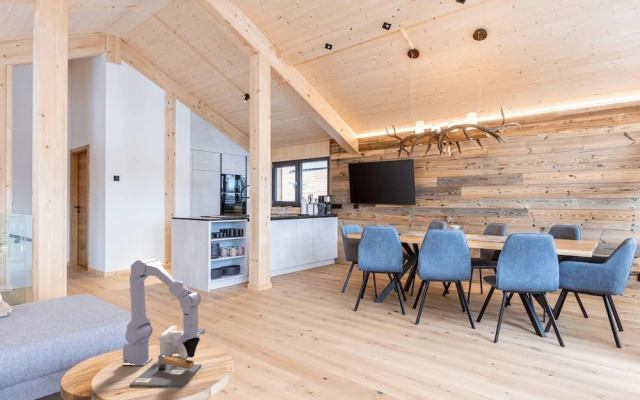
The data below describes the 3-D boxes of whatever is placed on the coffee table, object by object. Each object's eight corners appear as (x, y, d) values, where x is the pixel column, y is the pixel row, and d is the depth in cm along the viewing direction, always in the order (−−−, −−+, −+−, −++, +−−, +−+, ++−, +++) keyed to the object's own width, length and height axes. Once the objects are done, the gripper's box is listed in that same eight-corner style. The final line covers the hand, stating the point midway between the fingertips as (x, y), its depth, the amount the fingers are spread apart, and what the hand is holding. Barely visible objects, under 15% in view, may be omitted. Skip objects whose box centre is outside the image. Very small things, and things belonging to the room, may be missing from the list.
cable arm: (156, 369, 151) (156, 356, 151) (162, 366, 153) (162, 354, 153) (188, 377, 144) (188, 363, 144) (194, 373, 147) (194, 360, 147)
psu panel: (129, 386, 139) (129, 383, 139) (154, 365, 157) (154, 363, 157) (182, 387, 138) (182, 384, 138) (201, 366, 156) (201, 363, 156)
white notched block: (183, 362, 160) (183, 334, 160) (158, 362, 160) (158, 335, 160) (195, 348, 175) (194, 323, 175) (172, 349, 175) (172, 324, 175)
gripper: (185, 329, 146) (185, 365, 145) (210, 319, 159) (210, 351, 159) (171, 327, 148) (171, 362, 148) (197, 317, 162) (197, 349, 161)
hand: (191, 356), depth 154 cm, fingers closed
